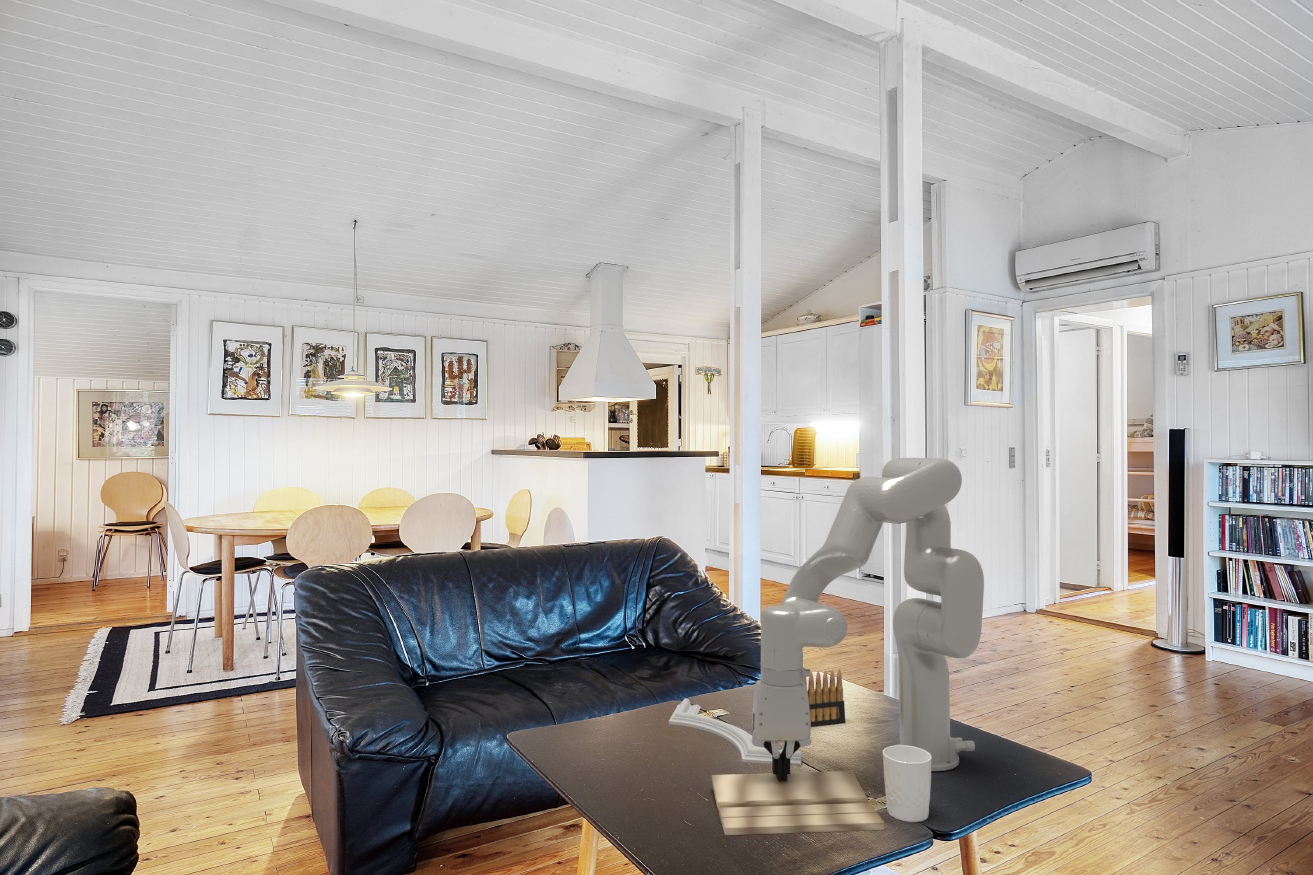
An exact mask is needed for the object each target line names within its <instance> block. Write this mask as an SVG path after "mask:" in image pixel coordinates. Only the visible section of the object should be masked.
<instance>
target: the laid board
mask: <svg viewBox="0 0 1313 875" xmlns="http://www.w3.org/2000/svg"><path fill="white" fill-rule="evenodd" d="M718 816H719V819H720V823H721V827H722V830H723V833H724V836H737V835H738V836H740V835H741V836H744V835H766V834H767V835H768V834H769V835H771V834H793V833H794V834H799V833H801V834H802V833H826V832H829V833H830V832H833V833H834V832H854V831H855V832H858V831H859V832H860V831H861V832H862V831H882V830H883V831H884V830H885V821H884V820H883V819H882V818H881V816H880V814H879V813H878V811H876V809H875V808H874V806H873V805H872V804H871V803H870V802H868V803H852V804H822V805H792V806H761V807H731V808H719V811H718Z"/></svg>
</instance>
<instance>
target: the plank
mask: <svg viewBox="0 0 1313 875" xmlns="http://www.w3.org/2000/svg"><path fill="white" fill-rule="evenodd" d="M711 784H712V790H713V793H714V794H713V795H714V799H715V802H716V809H717V811H718V812H719V808H731V807H761V806H792V805H822V804H852V803H869V798H868V797H867V795H866V793H865V792H864V790H863V788H862V786H861V784H860V782H859V781H858V779H857V777H856V775H855V773H854V771H853V770H836V771H835V770H833V771H832V770H831V771H805V772H804V771H801V772H800V771H799V772H790V774H787V781H784V780H783V779H782V780H781V781H778V779H777V777H776V775H775V774H773V772H772V773H771V772H770V773H768V772H767V773H766V772H764V773H740V774H739V773H737V774H735V773H733V774H731V773H730V774H712V775H711Z"/></svg>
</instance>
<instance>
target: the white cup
mask: <svg viewBox="0 0 1313 875" xmlns="http://www.w3.org/2000/svg"><path fill="white" fill-rule="evenodd" d="M931 759H932V757H931V754H930V753H929V752H927V751H925V750H923V749H921V748H917V747H913V746H907V745H897V744H895V745H890V746H887V747H885V748H884V749H882V760H883V762H882V763H883V779H884V792H885V796H886V797H885V799H886V811H887V813H888V814H889V816H891V817H892V818H894V819H896V820H899V821H902V822H909V823H916V822H918V823H919V822H923V821H925V820H927V819H928V818H929V814H930V801H931V787H932V786H931V784H932V771H931Z"/></svg>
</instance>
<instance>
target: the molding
mask: <svg viewBox="0 0 1313 875" xmlns="http://www.w3.org/2000/svg"><path fill="white" fill-rule="evenodd" d="M700 709H701V710H702V706H700V705H699V704H698V703H697V704H693V705H692V703H691V702H690V699H689V698H684V699H683V700H682V701H681V702H680V703H679V704H677V706H676V708H675V710H674V711H673V713H672V715H671V716H670V718H669V720H668V725H676V726H683V727H688V728H694V729H697V730H698V729H699V730H702V731H706V732H709V733H712V734H714V735H716V736H719V737H720V738H723V739H725V740H726V741H728V742H730V743H731V744H732V745H733V746H734V747H735V748H736V749H737V750H738V752H739V753H740V755H741V756H740V757H741V763H752V764H764V765H765V764H766V765H772V755H771V754H770V753H769V752H768V751H767V750H766V749H765V748H763V747H758V746H754V745H753V744H752V741H751V740H752V736H753V734H750V732H748V731H746V730H744V729H742V728H740V727H738V726H735V725H733V724H730V723H727V722H724V721H721V720H718V719H715V718H711V717H708V716H705V715H700V712H699V711H701V710H700ZM698 713H699V714H698ZM782 750H783V749H779V752H780V754H781V752H782ZM802 758H803V753H802V750H797V751H796V752H795V753H794V754H793V756H792V758H790V767H802V761H803V759H802Z"/></svg>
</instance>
